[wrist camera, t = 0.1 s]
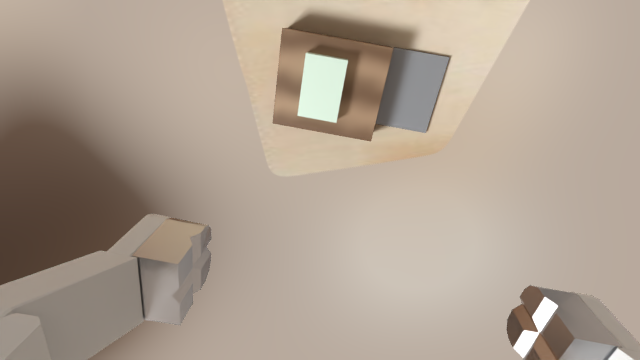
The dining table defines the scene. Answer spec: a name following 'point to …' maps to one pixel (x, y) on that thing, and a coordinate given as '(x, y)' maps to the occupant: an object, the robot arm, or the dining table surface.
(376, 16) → the dining table surface
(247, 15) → the dining table surface
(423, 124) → the mat
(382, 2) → the dining table surface
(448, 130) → the dining table surface
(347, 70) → the board
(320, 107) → the mint green block
